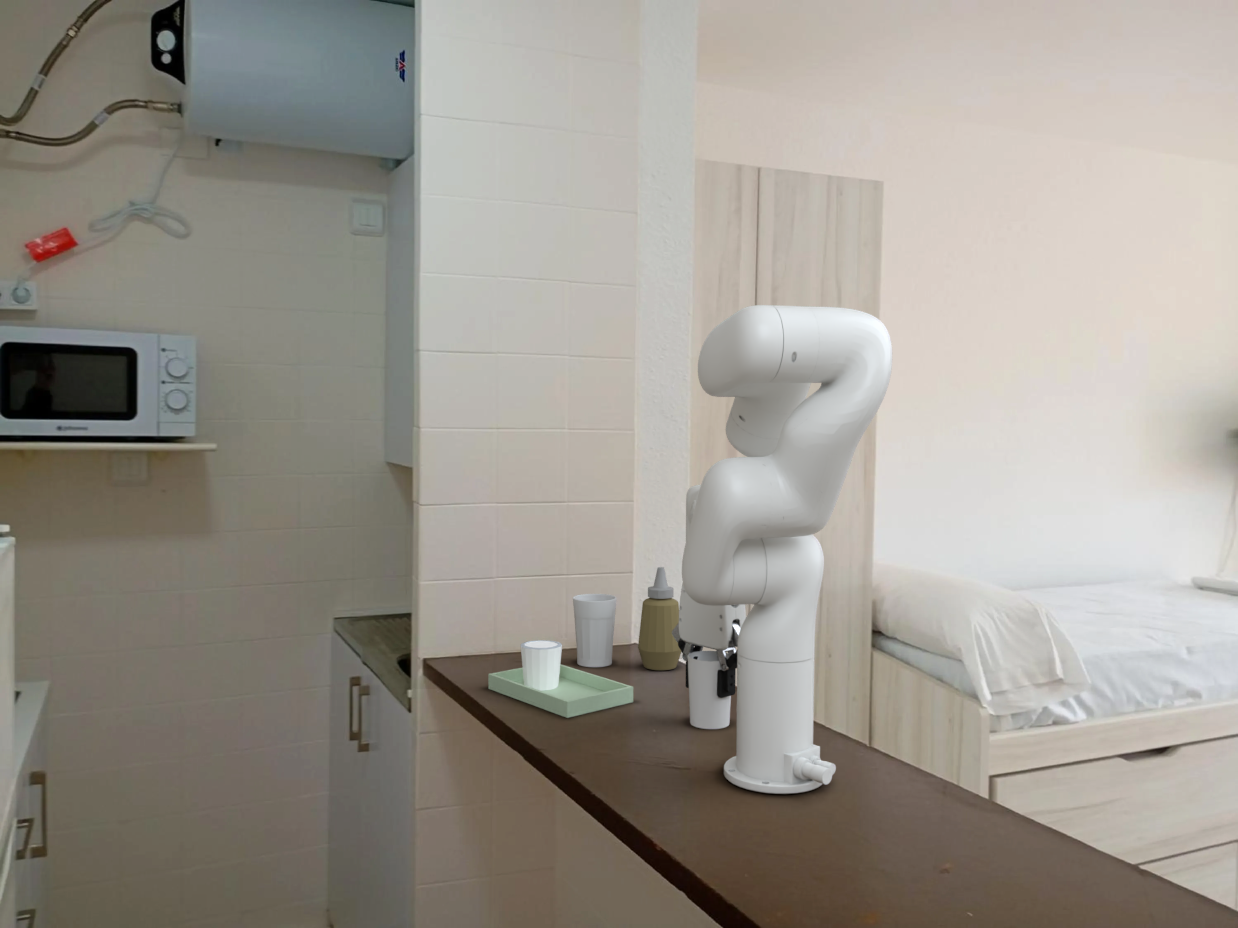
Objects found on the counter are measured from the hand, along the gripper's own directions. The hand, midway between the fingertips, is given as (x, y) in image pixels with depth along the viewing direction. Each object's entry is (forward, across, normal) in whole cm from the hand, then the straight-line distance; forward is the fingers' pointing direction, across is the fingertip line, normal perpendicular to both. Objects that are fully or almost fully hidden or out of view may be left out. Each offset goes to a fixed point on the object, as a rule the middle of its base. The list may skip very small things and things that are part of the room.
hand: (710, 689), depth 152 cm
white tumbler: (+5, 0, 0) cm, 5 cm away
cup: (+5, +39, -10) cm, 41 cm away
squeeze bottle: (+5, +29, -17) cm, 34 cm away
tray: (+5, +26, +8) cm, 28 cm away
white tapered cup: (+5, +31, +8) cm, 32 cm away
